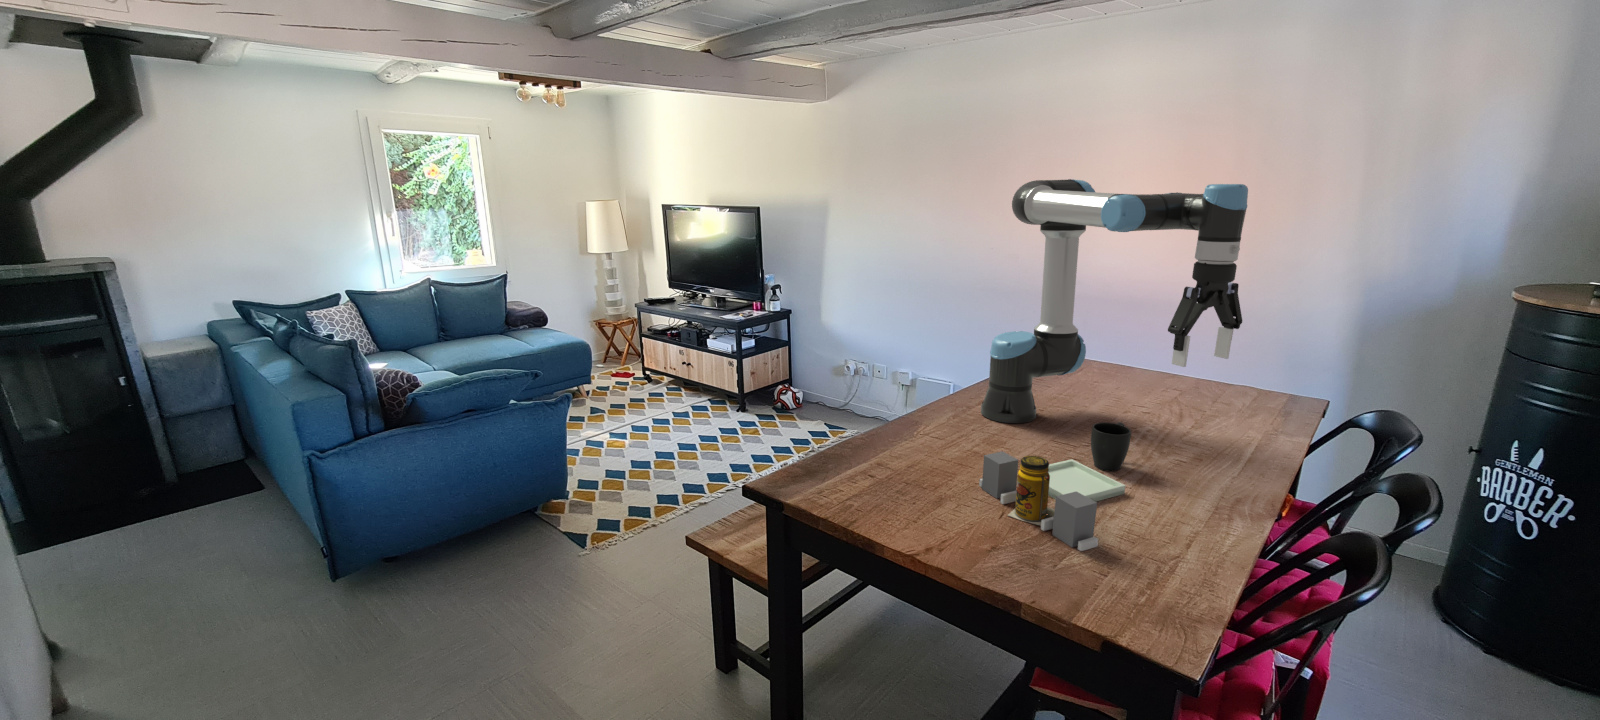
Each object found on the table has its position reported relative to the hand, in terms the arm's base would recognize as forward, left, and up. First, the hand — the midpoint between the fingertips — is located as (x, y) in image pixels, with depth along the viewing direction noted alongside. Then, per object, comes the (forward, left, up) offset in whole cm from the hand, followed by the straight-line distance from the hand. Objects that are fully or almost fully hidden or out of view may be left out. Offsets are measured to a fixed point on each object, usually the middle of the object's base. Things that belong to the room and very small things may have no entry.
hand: (1200, 361), depth 141 cm
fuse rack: (-1, -42, -27) cm, 50 cm away
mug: (-12, -9, -27) cm, 31 cm away
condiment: (-1, -42, -27) cm, 50 cm away
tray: (-7, -26, -27) cm, 38 cm away
